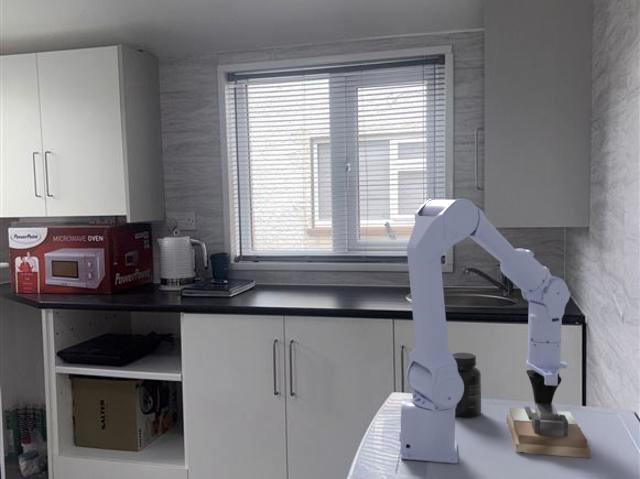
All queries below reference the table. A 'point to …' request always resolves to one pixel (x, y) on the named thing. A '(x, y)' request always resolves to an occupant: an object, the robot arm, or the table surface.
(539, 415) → the bolt
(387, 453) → the table surface
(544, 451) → the lock board
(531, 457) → the table surface
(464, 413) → the supplement bottle
